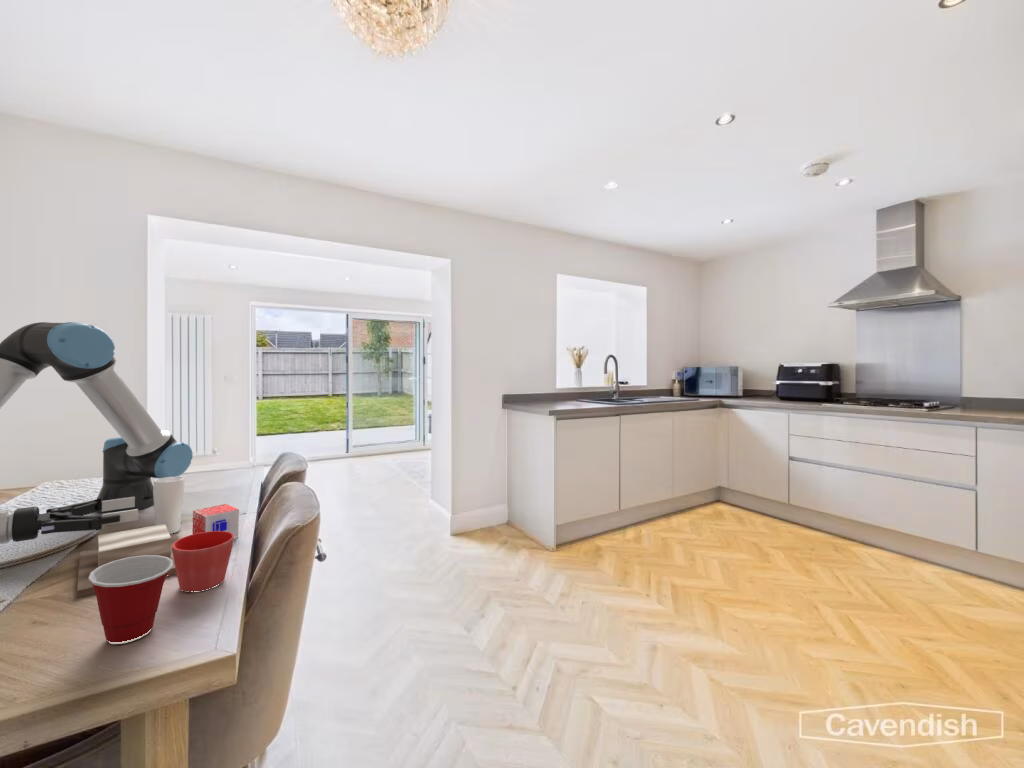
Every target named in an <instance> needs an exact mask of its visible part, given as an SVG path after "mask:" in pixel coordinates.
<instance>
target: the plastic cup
mask: <svg viewBox="0 0 1024 768" xmlns="http://www.w3.org/2000/svg"><path fill="white" fill-rule="evenodd" d="M172 566H173V560H171V559H170V558H168V557H164V556H158V555H143V556H135V557H128V558H124V559H120V560H116V561H112V562H110V563H107V564H105V565H102V566H100V567H98V568H97V569H95V570H94V571H92V572H91V573H90V576H89V581H90V582H91V583H92V585H93V589H94V590H95V594H94V595H95V596H96V601H97V602H96V603H97V607H98V612H99V616H100V621H101V625H102V626H103V630H104V631H103V632H104V637H105V640H106V641H107V640H108V641H110V642H122V641H127V640H131V639H134V638H137V637H139V636H142V635H143V634H145V633H147V632H148V631H149V630H150V629H151V628H152V629H153V627H154V623H155V618H156V613H157V612H158V607H159V604H160V600H161V595H162V591H163V587H164V583H165V582H166V579H167V577H168V576H167V574H168V572H169V570H170V569H171V568H172Z"/></svg>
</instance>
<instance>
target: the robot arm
mask: <svg viewBox="0 0 1024 768" xmlns="http://www.w3.org/2000/svg"><path fill="white" fill-rule="evenodd" d="M115 347H116V346H115V343H114V341H113V339H112V338H111V336H110V335H109V334H108V333H107V332H106V331H105V330H103V329H102V328H100V327H98V326H96V325H93V324H88V323H83V322H74V321H69V322H67V321H66V322H49V321H48V322H47V321H46V322H45V321H44V322H43V321H42V322H41V321H40V322H34V323H30V324H26V325H24V326H22V327H20V328H18V329H16V330H15V331H13V332H12V333H11V334H9V335H8V336H7V337H6V338H4V339H3V340H2V341H1V342H0V410H1V409H2V407H3V406H4V405H5V404H6V403H7V402H8V401H9V400H10V399H11V397H13V395H15V393H16V392H17V391H18V390H19V389H20V388H21V387H22V385H23V384H24V383H25V382H26V381H27V380H30V379H35V378H36V377H38V375H40V373H41V372H42V371H43V370H45V369H47V368H48V367H52V368H53V370H54V371H55V372H56V374H58V376H60V377H61V379H62V380H63V381H65V382H69V383H74V384H76V385H77V386H78V387H79V388H80V390H81V391H82V393H83V394H84V395H85V396H86V397H87V398H88V399H89V401H90V402H91V403H92V404H93V406H94V407H95V408H96V410H98V411H99V412H100V414H101V415H102V416H103V418H105V420H106V421H107V422H108V423H109V424H110V426H111V427H112V429H114V430H115V431H116V433H117V434H118V435H119V437H113V438H109V439H106V440H105V441H104V443H103V449H102V453H103V457H102V486H101V488H100V491H99V493H98V495H97V497H96V499H93V500H88V501H84V502H79V503H74V504H70V505H69V504H68V505H64V506H59V507H53V508H48V509H46V510H45V512H43V513H40V508H39V507H38V506H30V507H29V506H28V507H20V508H16V509H15V510H14V511H12V510H11V509H4V510H0V545H3V544H9V543H10V542H11V541H13V542H15V543H18V542H25V541H30V540H35V539H37V538H38V536H39V532H41V533H40V534H41V535H47V534H54V533H68V532H69V533H70V532H71V533H72V532H84V531H85V532H86V531H100V530H102V528H103V527H105V526H109V525H115V524H116V525H117V524H121V523H122V524H123V523H128V522H135V521H139V510H140V509H145V508H148V507H151V506H154V500H153V486H154V483H153V481H152V479H160V478H165V477H181V476H182V475H183V474H184V473H185V472H186V471H187V470H188V469H189V467H190V465H191V464H192V459H193V456H194V455H193V450H192V447H191V446H190V445H189V444H188V443H185V442H183V441H177V440H176V438H175V437H174V436H173V434H172V433H171V432H170V431H169V430H167V429H161V428H160V427H159V426H158V425H157V423H156V422H155V420H154V419H153V417H152V416H151V415H150V414H149V412H148V411H147V410H146V408H145V407H144V405H142V404H141V402H140V401H139V400H138V398H137V396H136V395H135V394H134V393H133V392H132V390H131V389H130V388H129V386H128V385H127V383H126V382H125V381H124V380H123V378H122V377H121V375H120V374H119V373H118V372H117V370H116V369H115V366H116V363H117V360H116V357H114V355H115V352H114V350H115V349H116V348H115ZM100 512H101V513H102V515H91V514H93V513H94V514H95V513H100ZM101 513H100V514H101Z"/></svg>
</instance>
